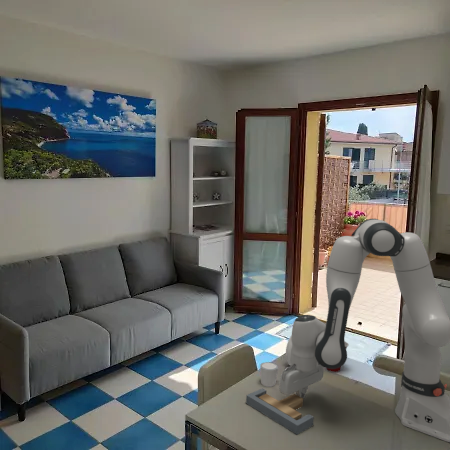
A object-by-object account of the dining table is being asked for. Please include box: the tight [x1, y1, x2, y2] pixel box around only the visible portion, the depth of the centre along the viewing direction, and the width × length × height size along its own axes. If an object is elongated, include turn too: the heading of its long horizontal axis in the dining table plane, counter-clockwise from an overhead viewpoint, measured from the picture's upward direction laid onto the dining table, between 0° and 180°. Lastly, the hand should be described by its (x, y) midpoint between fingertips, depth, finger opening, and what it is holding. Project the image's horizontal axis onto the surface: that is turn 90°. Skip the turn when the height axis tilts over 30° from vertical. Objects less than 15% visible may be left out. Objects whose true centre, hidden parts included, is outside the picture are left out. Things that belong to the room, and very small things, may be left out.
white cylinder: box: [259, 361, 279, 387], centre depth 165 cm, size 7×7×7 cm
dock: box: [245, 388, 315, 435], centre depth 145 cm, size 23×8×3 cm, turn 41°
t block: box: [258, 393, 304, 420], centre depth 147 cm, size 16×12×3 cm
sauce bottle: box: [285, 334, 292, 366], centre depth 179 cm, size 8×8×18 cm
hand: (300, 398), depth 152 cm, fingers closed
